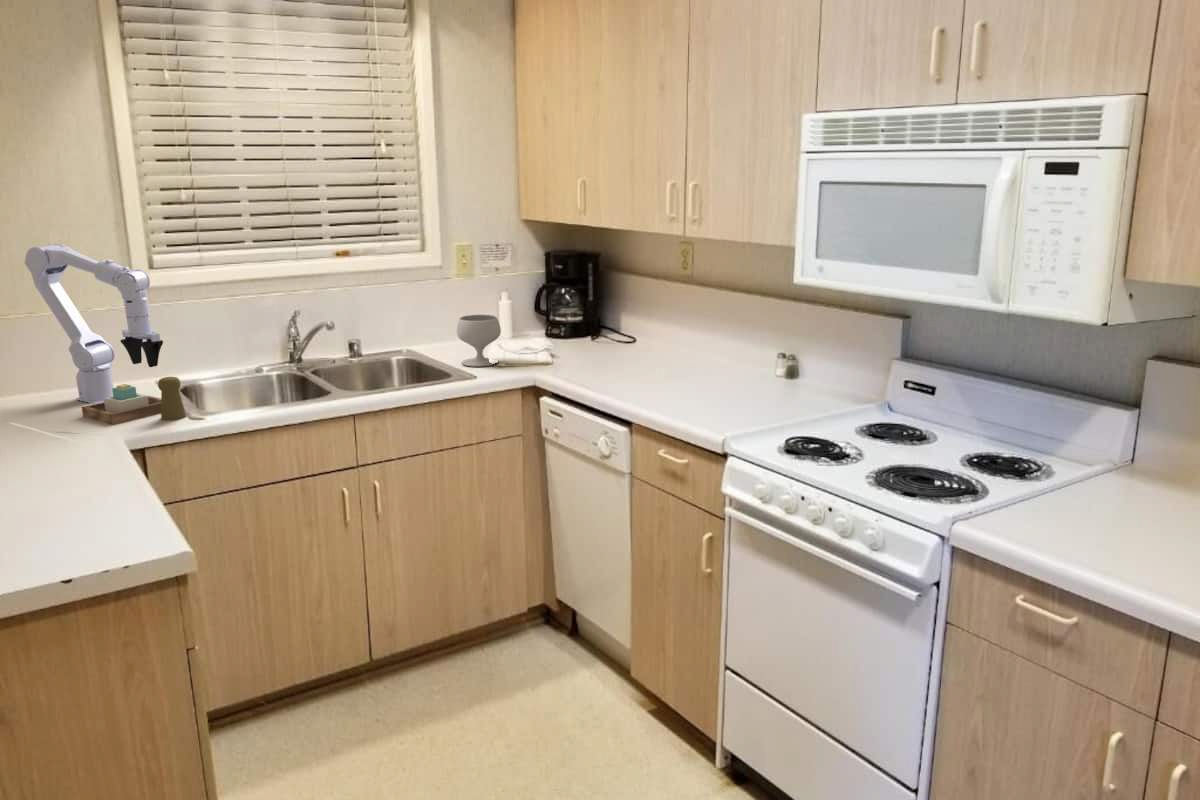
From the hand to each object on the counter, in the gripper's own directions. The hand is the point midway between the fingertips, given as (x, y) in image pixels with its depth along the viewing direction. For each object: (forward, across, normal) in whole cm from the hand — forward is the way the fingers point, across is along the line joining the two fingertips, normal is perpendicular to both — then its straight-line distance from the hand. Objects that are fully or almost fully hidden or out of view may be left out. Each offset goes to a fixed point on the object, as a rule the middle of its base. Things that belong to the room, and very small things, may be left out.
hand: (145, 364), depth 252 cm
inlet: (+10, +8, -11) cm, 17 cm away
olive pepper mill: (+11, +22, -7) cm, 25 cm away
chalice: (+11, +48, +84) cm, 97 cm away
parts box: (+10, +8, -11) cm, 17 cm away
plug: (+10, +8, -11) cm, 17 cm away
